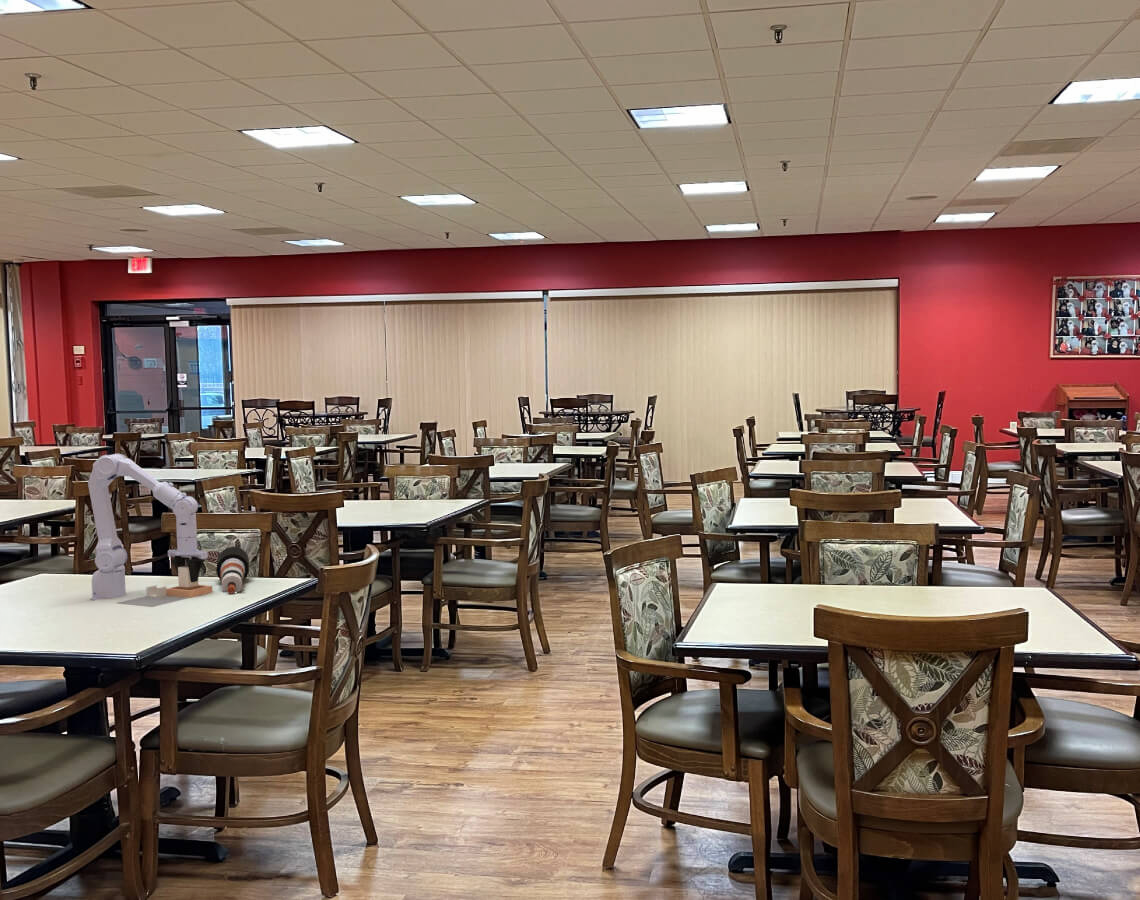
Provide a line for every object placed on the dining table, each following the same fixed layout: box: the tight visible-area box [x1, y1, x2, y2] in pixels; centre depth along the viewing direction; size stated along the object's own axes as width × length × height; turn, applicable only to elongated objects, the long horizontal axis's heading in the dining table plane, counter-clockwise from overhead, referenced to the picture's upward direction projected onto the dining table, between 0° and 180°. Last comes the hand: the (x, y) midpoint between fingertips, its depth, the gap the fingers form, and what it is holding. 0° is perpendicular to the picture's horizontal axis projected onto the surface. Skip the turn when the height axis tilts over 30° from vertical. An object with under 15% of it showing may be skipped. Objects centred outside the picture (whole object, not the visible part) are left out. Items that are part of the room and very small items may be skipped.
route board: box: [116, 593, 209, 608], centre depth 308 cm, size 15×24×1 cm, turn 154°
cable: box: [215, 546, 250, 595], centre depth 327 cm, size 10×34×10 cm, turn 14°
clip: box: [145, 585, 167, 598], centre depth 309 cm, size 5×3×3 cm, turn 64°
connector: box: [177, 559, 200, 587], centre depth 312 cm, size 4×4×8 cm
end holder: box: [166, 584, 214, 599], centre depth 313 cm, size 10×9×2 cm
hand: (188, 581), depth 312 cm, fingers closed on connector, 4 cm apart
